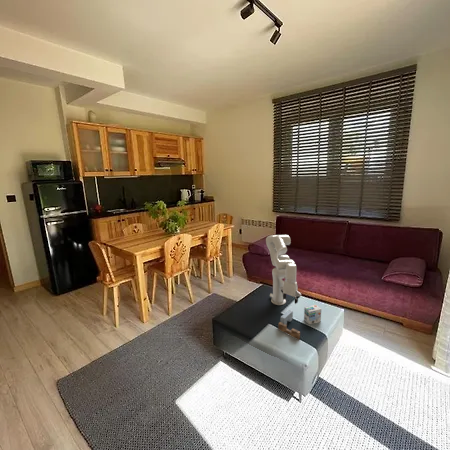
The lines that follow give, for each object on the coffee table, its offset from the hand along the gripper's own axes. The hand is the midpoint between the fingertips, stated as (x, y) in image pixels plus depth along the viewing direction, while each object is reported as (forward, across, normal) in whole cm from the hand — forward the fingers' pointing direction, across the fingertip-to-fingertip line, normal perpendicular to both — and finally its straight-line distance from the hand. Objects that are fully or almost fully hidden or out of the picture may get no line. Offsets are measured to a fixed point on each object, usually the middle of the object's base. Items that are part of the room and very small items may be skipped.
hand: (290, 300), depth 179 cm
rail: (+16, +8, -14) cm, 23 cm away
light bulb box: (+17, +13, +11) cm, 24 cm away
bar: (+16, 0, -4) cm, 17 cm away
